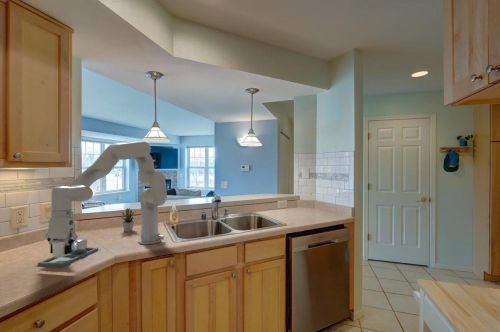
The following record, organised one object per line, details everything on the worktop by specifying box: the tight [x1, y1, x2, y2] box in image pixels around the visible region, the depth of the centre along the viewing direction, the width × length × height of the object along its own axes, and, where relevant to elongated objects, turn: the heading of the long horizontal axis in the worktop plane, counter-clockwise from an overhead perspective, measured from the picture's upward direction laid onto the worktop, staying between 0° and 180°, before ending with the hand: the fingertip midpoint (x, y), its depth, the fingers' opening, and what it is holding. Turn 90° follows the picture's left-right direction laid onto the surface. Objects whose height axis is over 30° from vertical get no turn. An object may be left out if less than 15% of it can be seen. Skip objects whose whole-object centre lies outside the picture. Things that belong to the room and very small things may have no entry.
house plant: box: [117, 207, 138, 233], centre depth 175 cm, size 14×14×16 cm
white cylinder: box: [52, 239, 69, 258], centre depth 115 cm, size 7×7×7 cm
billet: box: [71, 238, 88, 255], centre depth 126 cm, size 7×7×6 cm
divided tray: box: [34, 246, 101, 269], centre depth 121 cm, size 14×24×2 cm, turn 173°
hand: (61, 252), depth 115 cm, fingers closed on white cylinder, 6 cm apart
